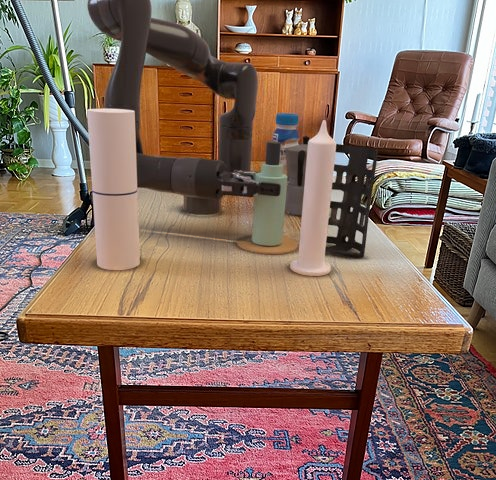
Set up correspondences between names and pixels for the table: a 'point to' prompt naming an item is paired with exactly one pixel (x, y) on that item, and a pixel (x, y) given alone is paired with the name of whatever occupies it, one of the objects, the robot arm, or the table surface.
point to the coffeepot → (296, 177)
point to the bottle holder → (201, 205)
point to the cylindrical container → (114, 187)
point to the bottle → (270, 200)
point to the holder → (352, 201)
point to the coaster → (270, 247)
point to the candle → (316, 205)
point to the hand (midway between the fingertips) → (283, 186)
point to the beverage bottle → (286, 135)
